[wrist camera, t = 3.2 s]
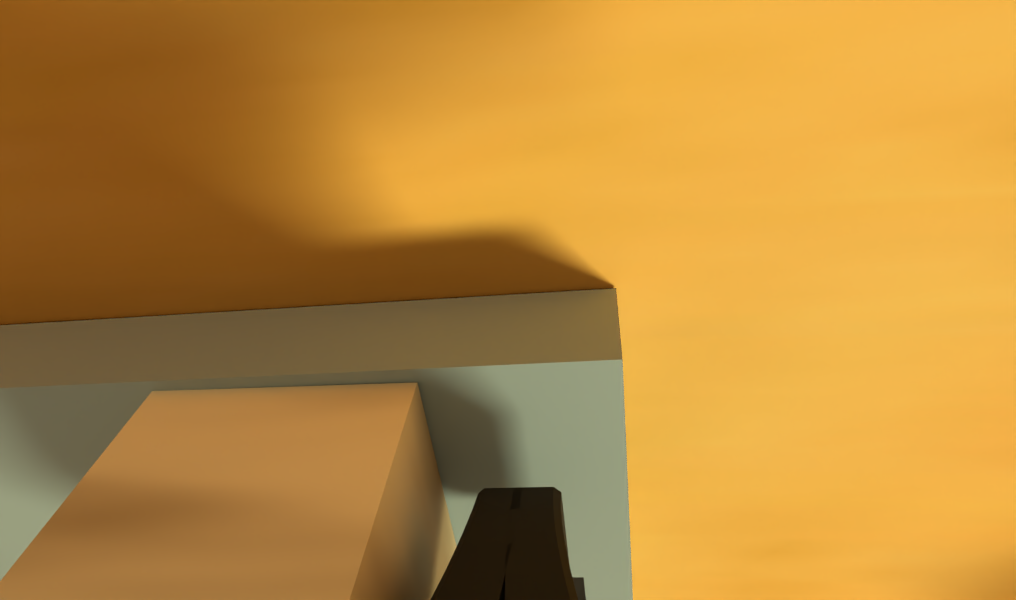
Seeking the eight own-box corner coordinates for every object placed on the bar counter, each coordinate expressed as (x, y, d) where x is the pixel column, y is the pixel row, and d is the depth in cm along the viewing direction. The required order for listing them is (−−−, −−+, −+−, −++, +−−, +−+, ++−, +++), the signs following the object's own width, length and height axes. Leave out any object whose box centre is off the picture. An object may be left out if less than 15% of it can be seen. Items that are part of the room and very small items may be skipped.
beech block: (461, 565, 13) (412, 851, 9) (240, 564, 14) (111, 831, 10) (417, 382, 11) (328, 667, 7) (152, 391, 11) (-62, 657, 8)
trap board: (631, 628, 17) (647, 845, 13) (-101, 623, 20) (-258, 801, 16) (616, 287, 12) (633, 489, 8) (-378, 347, 15) (-706, 517, 11)
